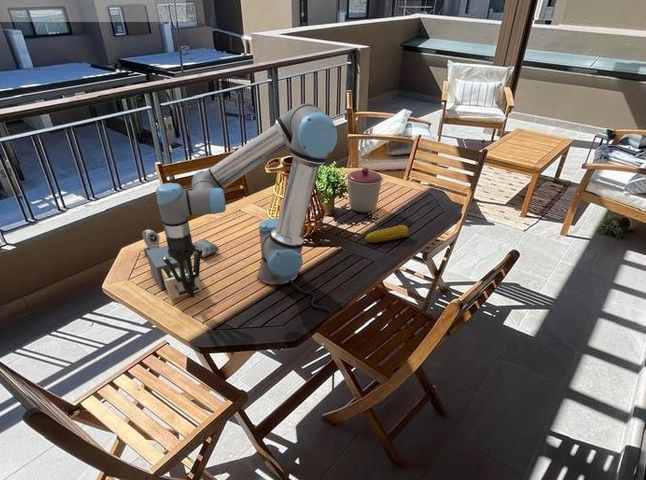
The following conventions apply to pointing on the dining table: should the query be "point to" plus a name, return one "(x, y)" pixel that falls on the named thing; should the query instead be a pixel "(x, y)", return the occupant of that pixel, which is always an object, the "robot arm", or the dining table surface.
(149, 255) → the cabinet
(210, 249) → the packaged food
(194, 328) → the dining table surface
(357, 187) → the canister
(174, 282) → the drawer
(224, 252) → the dining table surface
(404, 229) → the food
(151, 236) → the watch
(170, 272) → the votive
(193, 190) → the robot arm
